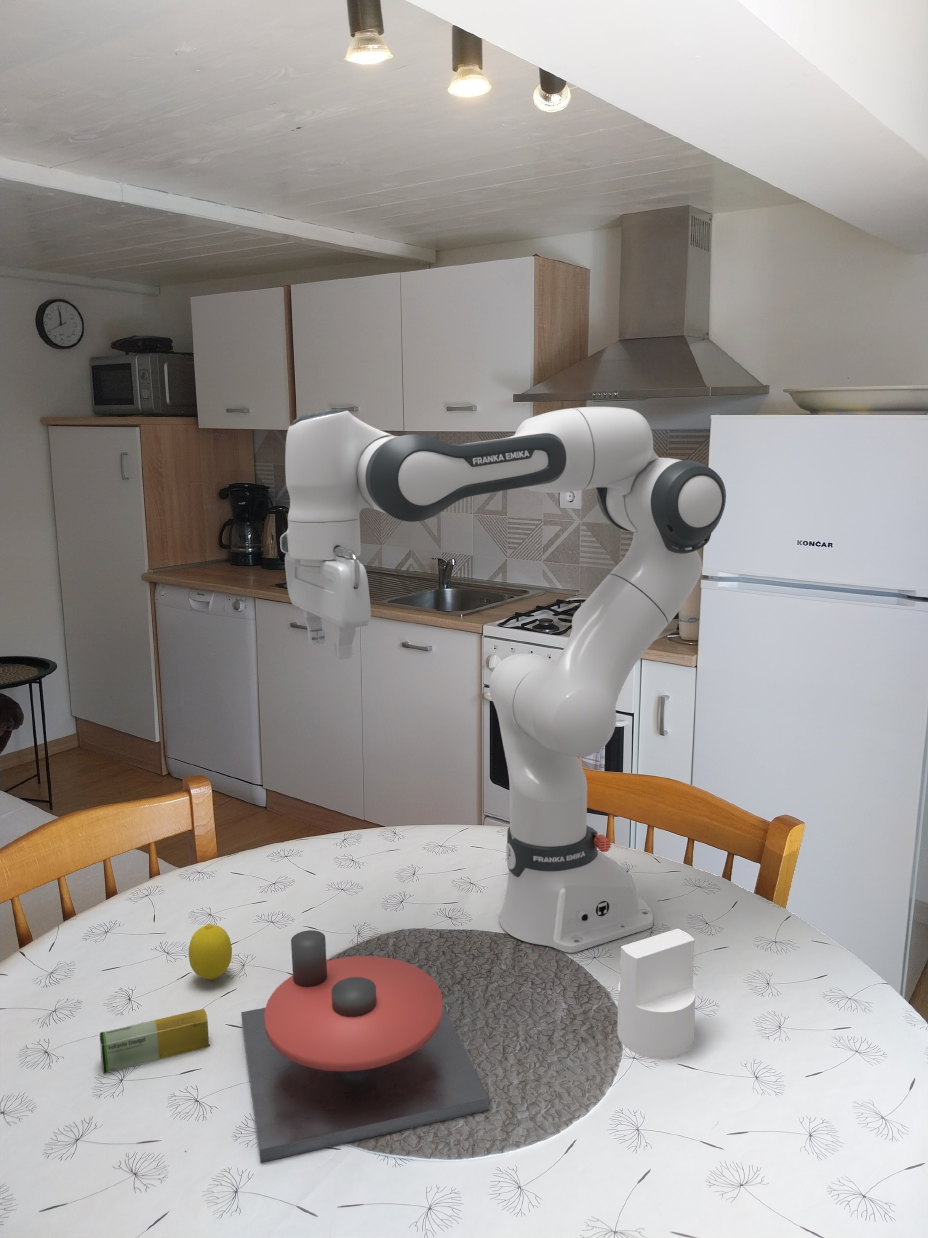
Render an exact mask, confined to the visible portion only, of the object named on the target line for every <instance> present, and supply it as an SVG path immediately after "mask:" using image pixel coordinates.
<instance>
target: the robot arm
mask: <svg viewBox="0 0 928 1238" xmlns="http://www.w3.org/2000/svg"><path fill="white" fill-rule="evenodd" d="M284 454H285V455H284V457H285V460H284V462H285V463H284V466H285V467H284V468H285V469H284V470H285V486H286V490H287V491H288V495H289V510H288V514H287V529H286V531H285V532H284V533H283V534H281V536H280V538H279V542H280V544H279V545H280V546H279V547H280V550H281V552H282V553H283V554H285V555H284V567H285V576H286V577H285V579H286V587H287V592H288V593H287V594H288V598H289V599H290V602H291V604H292V605H293V606H295V607H298V608H299V609H302V610H303V611H302V613H303V619H304V621H305V625H306V628H307V633H308V634H307V636H308V642H309V643H310V644H312V645H315V646H318V645H324V644H325V642H326V637H325V636H326V635H325V634H326V633H325V629H323V621H322V619H323V620H326V621H327V622H329V623H332V624H334V625H335V627H334V628H335V632H336V642H335V643H333V649H334V656H335V657H336V658H338V659H340V660H348V659H349V660H350V659H351V658H352V657H353V642H354V641H355V635H356V634H357V633H356V632H357V630H356V628H361V627H367V626H368V625H369V624H370V621H371V616H372V611H371V610H372V609H371V598H370V587H369V580H368V575H367V571H366V568H365V566H364V565H363V563H361V562H360V560H358V559H357V558H358V557H360V556H361V554H362V552H361V549H362V548H361V525H360V520H361V519H360V513H361V511H362V510H364V509H373V510H376V511H378V512H381V513H385V514H387V515H389V516H391V517H393V518H394V519H397V520H399V521H403V522H412V523H415V522H422V521H425V520H428V519H431V518H433V517H435V516H436V515H438V514H440V513H442V512H444V511H445V510H446V509H447V508H450V506H452V505H454V504H455V503H457V502H459V501H461V500H463V499H466V498H470V497H474V496H480V495H481V496H482V495H486V494H492V493H499V492H503V491H509V490H515V489H528V491H531V492H536V493H546V494H549V493H550V494H553V493H555V494H556V493H557V494H558V493H559V494H561V493H570V492H578V491H585V490H591V489H596V496H597V497H596V498H597V502H598V506H599V509H600V511H601V513H602V515H603V516H604V518H605V519H606V520H607V521H608V522H609V523H610V524H612V525H613V526H615V527H616V528H618V529H620V530H623V531H625V532H632V533H633V535H632V541H631V543H630V546H629V549H628V551H627V552H626V553H625V555H624V557H623V559H622V560H621V561H620V562H619V563H618V564H617V565H616V566H614V568H613V569H612V570H611V571H610V572H609V574H607V576H606V577H605V578H604V579H603V580H602V581H601V583H600V584H598V586H597V587H596V588H595V589H594V590H593V592H592V593H591V594H590V595H589V596H588V597H587V598H586V600H585V601H583V603H582V604H581V605H580V606H579V608H577V610H576V611H575V612H574V613H573V616H572V619H571V632H570V635H569V638H568V639H567V642H566V644H565V646H564V648H562V649H563V650H562V651H561V653H560V654H559V656H558V657H557V659H556V660H552V659H551V658H548V657H546V656H545V655H541V654H535V653H515V654H512V655H509V656H507V657H505V658H503V660H501V661H500V662H499V663H498V664H497V665H496V666H495V667H494V669H493V671H492V673H491V675H490V680H489V694H490V698H491V700H492V703H493V705H494V708H495V710H496V714H497V719H498V723H499V728H500V729H499V730H500V735H501V740H502V747H503V752H504V757H505V761H506V766H507V773H508V781H509V826H508V828H507V832H506V833H507V834H506V835H507V836H506V845H505V847H506V848H505V849H506V850H505V853H506V855H505V856H506V864H507V868H508V876H507V884H506V890H505V895H504V900H503V904H502V907H501V911H500V914H499V917H498V920H499V924H500V926H501V928H502V929H503V930H504V931H505V932H506V933H507V934H509V935H510V936H512V937H514V938H515V939H518V940H521V941H523V942H526V943H529V944H534V945H540V946H546V947H551V948H554V949H556V950H558V951H562V952H565V953H567V954H568V953H569V954H572V953H577V952H580V951H583V950H586V949H589V948H592V947H595V946H599V945H603V944H605V943H608V942H611V941H614V940H617V939H620V938H624V937H627V936H630V935H634V934H635V933H640V932H643V931H646V930H649V929H650V928H652V927H653V924H654V918H653V917H654V916H653V912H652V910H651V908H650V906H649V905H648V904H647V903H646V901H644V899H643V898H642V897H641V896H640V895H639V894H637V889H636V886H635V883H634V881H633V879H632V878H631V875H630V874H629V873H628V871H627V870H625V869H624V867H622V865H620V864H619V863H618V862H617V861H616V860H614V859H612V858H611V857H609V856H608V855H606V854H605V853H606V852H609V851H610V849H611V848H612V841H611V840H610V839H608V838H607V837H606V836H605V835H604V834H599V833H598V831H597V830H596V829H594V828H593V827H591V826H589V825H588V824H587V822H588V821H587V817H588V816H587V815H588V813H587V812H588V810H587V809H588V782H587V776H586V773H585V771H584V769H583V767H582V765H581V762H580V760H579V758H585V757H589V756H592V755H594V754H596V753H598V752H599V751H601V750H602V749H604V747H605V746H606V745H607V744H608V743H609V741H610V740H611V738H612V737H613V734H614V732H615V729H616V724H617V711H616V708H617V707H616V705H617V703H618V699H619V696H620V694H621V692H622V689H623V686H624V685H625V683H626V681H627V678H628V677H629V675H630V673H631V671H632V670H633V668H635V666H636V664H637V663H638V661H639V660H640V658H641V657H642V656H643V654H645V653H646V651H647V650H648V649H649V647H651V645H652V644H653V643H654V642H655V640H656V639H657V638H658V637H659V636H660V634H661V633H662V632H663V631H664V630H665V629H666V628H667V627H668V625H670V623H671V622H672V620H674V618H676V617H675V616H677V614H678V612H680V610H681V609H682V608H683V606H684V604H685V603H686V601H687V600H688V598H689V597H690V595H691V594H692V592H693V590H694V589H695V587H696V585H697V583H698V581H699V580H700V578H701V576H702V572H703V562H702V559H701V556H700V554H699V552H698V550H700V549H702V548H703V547H705V545H707V544H708V543H709V542H710V539H711V536H712V533H714V530H715V529H716V528H717V526H718V525H719V523H720V521H721V519H722V517H723V514H724V510H725V507H726V503H727V491H726V486H725V484H724V481H723V479H722V478H721V476H720V474H719V473H718V472H716V471H715V470H714V469H712V468H711V467H709V466H707V465H705V464H703V463H701V462H698V461H695V460H691V459H690V460H688V459H685V460H684V459H677V458H671V457H659V456H658V455H657V454H656V452H655V450H654V438H653V431H652V429H651V426H650V424H649V422H648V421H647V419H646V418H645V417H644V416H643V415H642V414H641V413H640V412H638V411H637V410H634V409H631V408H625V407H617V406H616V407H614V406H581V407H572V408H563V409H558V410H552V411H548V412H544V413H542V414H538V415H534V416H532V417H529V418H526V419H524V420H523V421H522V422H521V424H520V425H519V426H518V428H517V430H516V431H515V433H514V434H513V435H512V436H508V437H504V438H499V439H498V438H497V439H490V440H483V441H475V442H468V443H462V444H461V443H460V444H457V443H455V444H454V443H452V444H451V443H448V442H444V441H441V440H438V439H436V438H433V437H431V436H427V435H422V434H414V433H413V434H411V433H409V434H403V435H399V436H398V435H397V436H396V435H393V434H391V433H389V432H385V431H383V430H380V429H378V428H376V427H374V426H371V424H370V425H369V424H368V423H366V422H364V421H362V420H360V419H359V418H357V416H354V415H353V414H352V413H351V412H350V411H349V410H347V409H345V408H331V409H326V410H319V411H315V412H311V413H306V414H304V415H303V414H302V415H300V416H298V417H296V419H294V420H293V421H292V422H291V424H289V427H288V429H287V432H286V439H285V453H284Z"/></svg>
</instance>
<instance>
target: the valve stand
mask: <svg viewBox="0 0 928 1238" xmlns="http://www.w3.org/2000/svg"><path fill="white" fill-rule="evenodd" d="M265 1008H266V1007H262V1008H261V1007H260V1008H257V1009H252V1010H246V1011H245V1010H244V1011H241V1012H240V1013H241V1015H240V1016H241V1026H242V1034H243V1035H242V1036H243V1040H244V1050H245V1057H246V1064H247V1070H248V1077H249V1085H250V1092H251V1093H250V1094H251V1099H252V1109H253V1114H254V1122H255V1131H256V1138H257V1145H258V1153H259V1160H260V1163H265V1162H270V1161H273V1160H279V1159H283V1158H287V1157H292V1156H296V1155H300V1154H304V1153H308V1152H313V1151H317V1150H322V1149H326V1148H330V1147H335V1146H340V1145H344V1144H348V1143H352V1142H357V1141H361V1140H365V1139H369V1138H373V1137H378V1136H383V1135H387V1134H392V1133H395V1132H399V1131H404V1130H409V1129H414V1128H417V1127H420V1126H422V1127H423V1126H425V1125H429V1124H433V1123H434V1124H435V1123H438V1122H442V1121H446V1120H447V1121H448V1120H451V1119H456V1118H460V1117H464V1116H468V1115H473V1114H478V1113H482V1112H487V1111H489V1110H490V1097H489V1095H488V1093H487V1091H486V1088H485V1086H484V1084H483V1083H482V1080H481V1078H480V1077H479V1074H478V1072H477V1070H476V1068H475V1067H474V1065H473V1062H472V1060H471V1058H470V1056H469V1054H468V1052H467V1050H466V1048H465V1046H464V1044H463V1041H462V1040H461V1037H460V1036H459V1034H458V1031H457V1030H456V1027H455V1026H454V1024H453V1021H452V1019H451V1017H450V1015H449V1012H448V1011H447V1010H446V1007H445V1005H444V1004H443V1013H442V1019H441V1023H440V1025H439V1027H438V1029H437V1031H436V1032H435V1034H434V1035H433V1036H432V1038H431V1039H430V1040H429V1041H428V1042H427V1043H426V1044H425V1045H423V1046H422V1047H421V1048H419V1049H418V1050H417V1051H415V1052H413V1053H412V1054H410V1055H408V1056H406V1057H404V1058H402V1059H400V1060H398V1061H395V1062H392V1063H390V1064H387V1065H384V1066H380V1067H376V1068H371V1069H365V1070H358V1071H327V1070H320V1069H314V1068H310V1067H307V1066H303V1065H300V1064H298V1063H296V1062H293V1061H291V1060H289V1059H288V1058H286V1057H284V1056H283V1055H282V1054H280V1053H279V1052H278V1051H277V1050H276V1049H275V1048H274V1047H273V1046H272V1044H271V1043H270V1041H269V1039H268V1037H267V1034H266V1031H265V1015H264V1014H265Z"/></svg>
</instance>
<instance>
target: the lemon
mask: <svg viewBox="0 0 928 1238" xmlns="http://www.w3.org/2000/svg"><path fill="white" fill-rule="evenodd" d="M232 957H233V948H232V942H231V939H230V937H229V935H228V932H227V931H226V929H224V928H222V927H221V926H220V925H217V924H211V923H207V924H206V925H204V926H201V927H199V929H197V930H196V931H195V932H194V934H193V935H192V936H191V939H190V942H189V947H188V959H189V960H188V961H189V965H190V967H191V969H192V971H193V972H194V974H195V975H197V976H199V977H200V978H202V979H207V980H210V981H214V980H215V979H216V978H218V977H220V976H221V975H223V974H224V973H225V972H226V971H227V970H228V968H229V967H230V964H231V961H232V959H233V958H232Z"/></svg>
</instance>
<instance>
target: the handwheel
mask: <svg viewBox="0 0 928 1238" xmlns="http://www.w3.org/2000/svg"><path fill="white" fill-rule="evenodd" d="M326 944H327V943H326V935H325V933H323V932H321V931H319V930H311V929H310V930H303V931H300V932H297V933H296V934H294V935H293V936H292V937H291V939H290V947H291V948H290V949H291V966H292V975H291V976H289V977H287V979H285V980H284V981H283V982H282V983H280V984H279V985H278V986H277V987H276V988H275V990H273V992H272V993H271V995H270V996H269V998H268V1000H267V1003H266V1004H265V1007H264V1008H265V1014H264V1015H265V1031H266V1034H267V1037H268V1039H269V1041H270V1043H271V1044H272V1046H273V1047H274V1048H275V1049H276V1050H277V1051H278V1052H279V1053H280V1054H282V1055H283V1056H284V1057H286V1058H288V1059H289V1060H291V1061H293V1062H296V1063H298V1064H300V1065H303V1066H307V1067H310V1068H314V1069H320V1070H327V1071H358V1070H365V1069H371V1068H376V1067H380V1066H384V1065H387V1064H390V1063H392V1062H395V1061H398V1060H400V1059H402V1058H404V1057H406V1056H408V1055H410V1054H412V1053H413V1052H415V1051H417V1050H418V1049H419V1048H421V1047H422V1046H423V1045H425V1044H426V1043H427V1042H428V1041H429V1040H430V1039H431V1038H432V1036H433V1035H434V1034H435V1032H436V1031H437V1029H438V1027H439V1025H440V1023H441V1019H442V1013H443V1005H444V1003H443V995H442V991H441V989H440V987H439V985H438V983H437V982H436V980H435V979H433V977H431V976H430V974H428V973H427V972H426V971H424V970H423V969H421V968H420V967H418V966H416V965H414V964H411V963H409V962H405V961H402V960H399V959H394V958H391V957H385V956H373V955H358V956H357V955H356V956H348V957H347V956H346V957H339V958H338V957H337V958H335V959H330V960H327V945H326Z"/></svg>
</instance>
